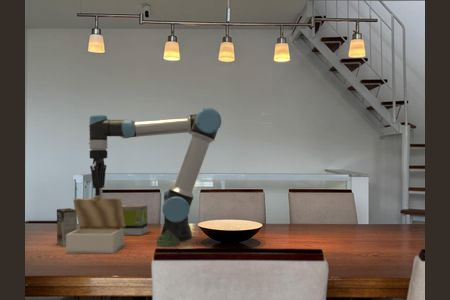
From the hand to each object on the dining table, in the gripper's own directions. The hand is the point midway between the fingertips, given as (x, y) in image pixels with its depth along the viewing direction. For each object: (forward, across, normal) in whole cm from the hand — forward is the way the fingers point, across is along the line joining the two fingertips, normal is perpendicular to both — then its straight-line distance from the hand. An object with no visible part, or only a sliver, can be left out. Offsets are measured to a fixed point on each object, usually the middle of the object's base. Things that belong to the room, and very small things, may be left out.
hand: (98, 202), depth 170 cm
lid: (+5, +1, 0) cm, 6 cm away
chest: (+20, +4, 0) cm, 20 cm away
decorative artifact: (+20, -6, +30) cm, 36 cm away
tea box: (+20, -30, +5) cm, 37 cm away
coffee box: (+20, -6, -18) cm, 28 cm away
